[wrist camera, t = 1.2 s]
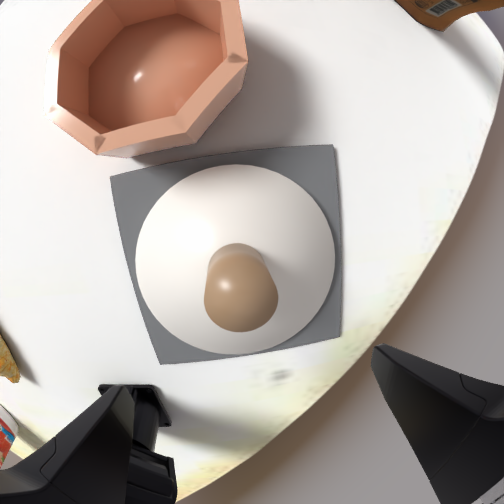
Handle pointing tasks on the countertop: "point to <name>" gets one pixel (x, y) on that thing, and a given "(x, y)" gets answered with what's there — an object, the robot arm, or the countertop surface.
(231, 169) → the lid
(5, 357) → the croissant
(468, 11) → the pancake mix bag
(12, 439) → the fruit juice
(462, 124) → the countertop surface
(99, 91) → the bowl
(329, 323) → the mat
